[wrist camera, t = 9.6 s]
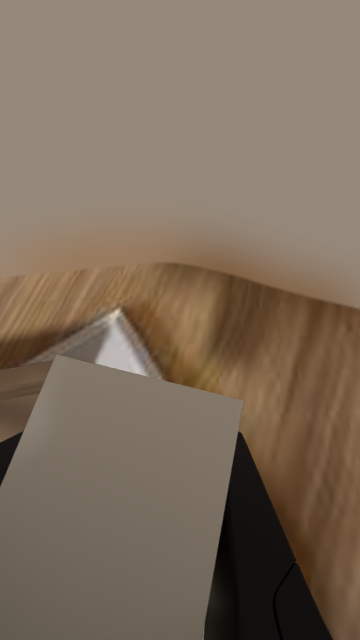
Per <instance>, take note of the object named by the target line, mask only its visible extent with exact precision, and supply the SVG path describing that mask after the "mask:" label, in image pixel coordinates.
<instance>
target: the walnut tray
mask: <svg viewBox="0 0 360 640" xmlns="http://www.w3.org/2000/svg"><path fill="white" fill-rule="evenodd" d="M52 363H53V361H47V362H42V363H36V364H30V365H25V366H19V367H14V368H8V369H3V370H0V442H2V441H4V440H6V439H8V438H10V437H12V436H14V435H16V434H18V433H20V432H22V431H24V429H25V427H26V425H27V422H28V420H29V417H30V415H31V413H32V410H33V408H34V406H35V403H36V401H37V398H38V396H39V394H40V391H41V389H42V387H43V384H44V382H45V379H46V377H47V375H48V372H49V370H50V368H51V365H52Z"/></svg>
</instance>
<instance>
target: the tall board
mask: <svg viewBox="0 0 360 640" xmlns="http://www.w3.org/2000/svg"><path fill="white" fill-rule="evenodd" d="M242 406H243V400H240V399H236V398H232V397H228V396H224V395H220V394H216V393H212V392H207V391H203V390H199V389H195V388H191V387H187V386H183V385H179V384H175V383H171V382H167V381H163V380H159V379H155V378H151V377H147V376H143V375H139V374H135V373H131V372H126V371H122V370H118V369H114V368H110V367H106V366H102V365H98V364H94V363H90V362H86V361H82V360H78V359H74V358H70V357H66V356H62V355H58V354H56V356H55V358H54V360H53V363H52V365H51V368H50V370H49V372H48V375H47V377H46V379H45V382H44V384H43V387H42V389H41V391H40V394H39V396H38V398H37V401H36V403H35V406H34V408H33V410H32V413H31V415H30V417H29V420H28V422H27V425H26V427H25V429H24V432H23V434H22V436H21V439H20V441H19V444H18V446H17V448H16V451H15V453H14V455H13V458H12V460H11V463H10V465H9V467H8V470H7V472H6V475H5V477H4V479H3V482H2V484H1V486H0V640H202V635H203V629H204V624H205V618H206V612H207V606H208V601H209V595H210V589H211V584H212V578H213V572H214V566H215V561H216V555H217V549H218V543H219V538H220V532H221V526H222V521H223V515H224V509H225V503H226V498H227V492H228V486H229V480H230V475H231V469H232V463H233V458H234V452H235V446H236V440H237V435H238V429H239V423H240V417H241V412H242Z"/></svg>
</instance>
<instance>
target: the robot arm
mask: <svg viewBox="0 0 360 640" xmlns="http://www.w3.org/2000/svg"><path fill="white" fill-rule="evenodd" d="M23 432H24V431H22V432H20V433H18V434H16V435H14V436H12V437H10V438H8V439H6V440H4V441H2V442H0V486H1V484H2V482H3V479H4V477H5V475H6V472H7V470H8V467H9V465H10V463H11V460H12V458H13V455H14V453H15V451H16V448H17V446H18V444H19V441H20V439H21V436H22V434H23ZM295 562H296V558H295V556H294V553H293V551H292V549H291V546H290V544H289V542H288V539H287V537H286V535H285V532H284V530H283V528H282V525H281V523H280V521H279V519H278V516H277V514H276V512H275V509H274V507H273V505H272V502H271V500H270V498H269V495H268V493H267V491H266V488H265V486H264V484H263V481H262V479H261V477H260V474H259V472H258V470H257V467H256V465H255V463H254V460H253V458H252V456H251V453H250V451H249V449H248V446H247V444H246V442H245V439H244V437H243V435H242V433H241V432H238V435H237V440H236V446H235V452H234V458H233V463H232V469H231V475H230V480H229V486H228V492H227V498H226V503H225V509H224V515H223V521H222V526H221V532H220V538H219V543H218V549H217V555H216V561H215V566H214V572H213V578H212V584H211V589H210V595H209V601H208V606H207V612H206V618H205V629H204V640H333V638H332V636H331V634H330V632H329V630H328V628H327V626H326V624H325V622H324V621H323V619H322V616H321V614H320V612H319V610H318V608H317V605H316V603H315V601H314V599H313V597H312V595H311V592H310V590H309V588H308V586H307V583H306V581H305V579H304V576H303V574H302V572H301V569H300V567H299V565H298V564H297V563H295Z"/></svg>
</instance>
